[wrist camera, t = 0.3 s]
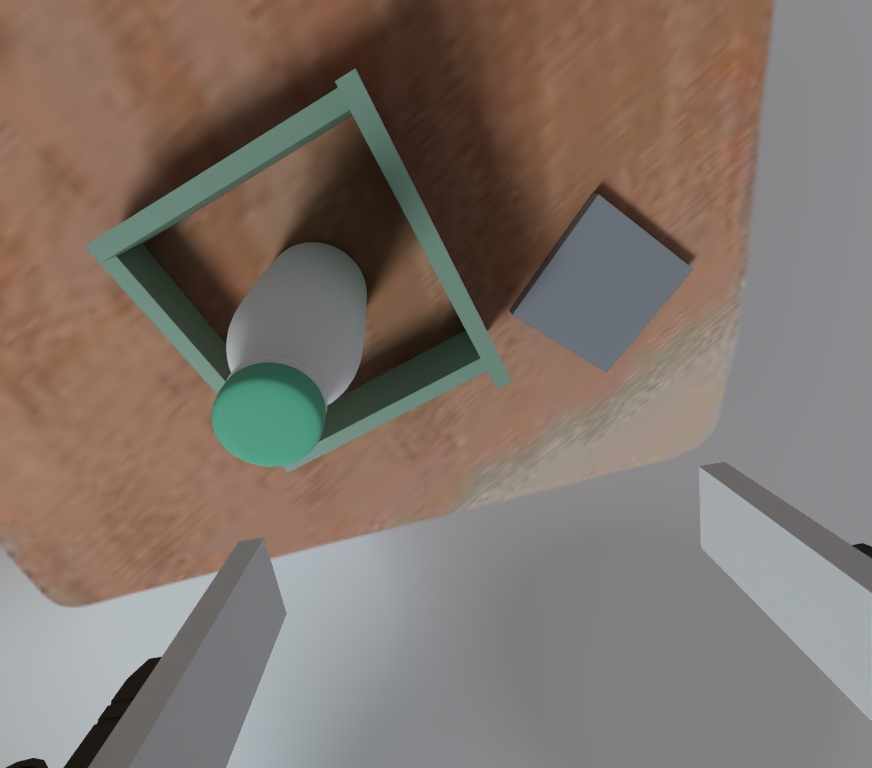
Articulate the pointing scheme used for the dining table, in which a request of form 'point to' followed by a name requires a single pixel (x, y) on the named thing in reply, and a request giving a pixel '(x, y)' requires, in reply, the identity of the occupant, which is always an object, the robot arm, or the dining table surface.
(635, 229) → the slate tile
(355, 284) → the milk bottle
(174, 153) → the dining table surface
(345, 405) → the green wooden frame
